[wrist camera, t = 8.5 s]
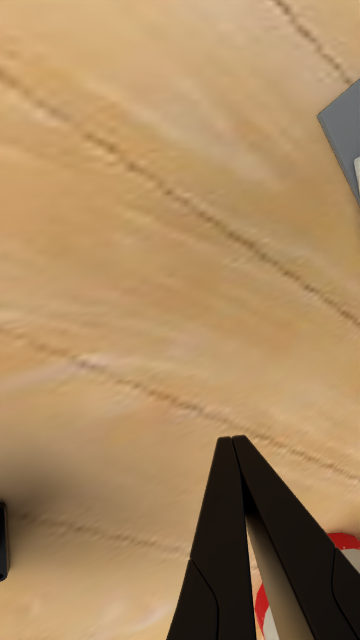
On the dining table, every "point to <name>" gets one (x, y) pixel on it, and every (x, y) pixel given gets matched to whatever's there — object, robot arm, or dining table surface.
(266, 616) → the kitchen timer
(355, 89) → the mat
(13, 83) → the dining table surface
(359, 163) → the supplement box
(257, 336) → the dining table surface
